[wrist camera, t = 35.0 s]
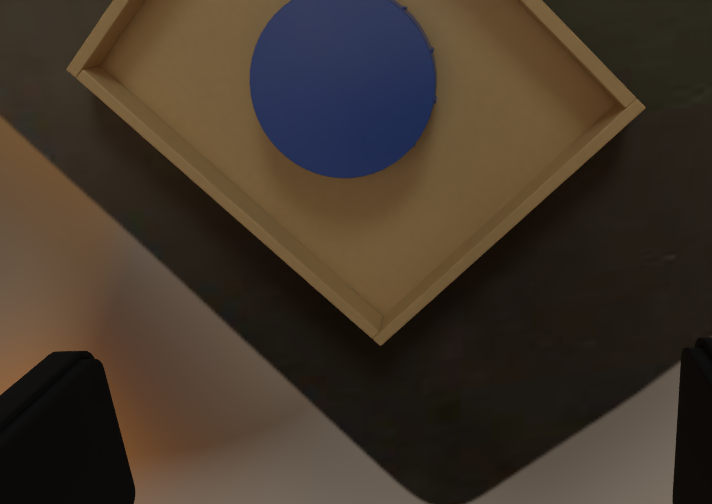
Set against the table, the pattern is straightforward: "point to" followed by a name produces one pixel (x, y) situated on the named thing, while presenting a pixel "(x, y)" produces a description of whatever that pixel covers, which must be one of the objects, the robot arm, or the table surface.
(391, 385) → the table surface
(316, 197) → the tray
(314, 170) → the lid
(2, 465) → the robot arm
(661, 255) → the table surface
